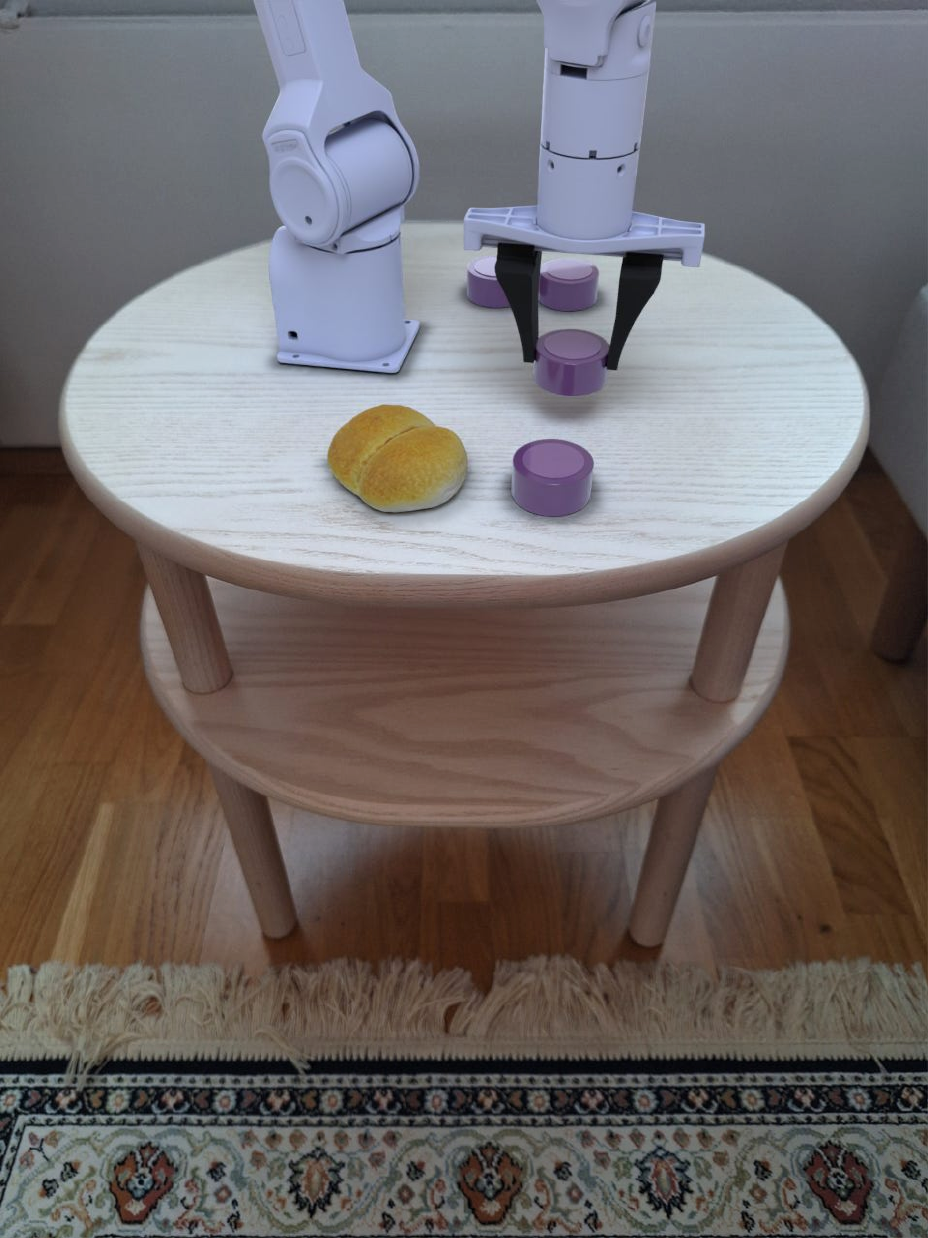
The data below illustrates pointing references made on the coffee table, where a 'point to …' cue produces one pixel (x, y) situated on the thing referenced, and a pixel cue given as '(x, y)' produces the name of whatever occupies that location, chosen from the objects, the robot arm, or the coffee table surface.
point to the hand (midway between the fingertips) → (572, 359)
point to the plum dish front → (552, 477)
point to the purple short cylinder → (485, 283)
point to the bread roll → (398, 459)
